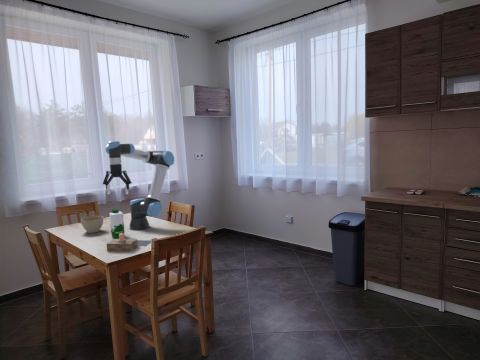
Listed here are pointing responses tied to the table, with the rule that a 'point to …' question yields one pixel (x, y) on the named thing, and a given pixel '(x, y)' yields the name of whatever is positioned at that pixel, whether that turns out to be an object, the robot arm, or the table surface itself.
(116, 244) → the hole block
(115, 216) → the milk carton
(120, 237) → the peg
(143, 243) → the mat
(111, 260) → the table surface
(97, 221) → the planter bowl
